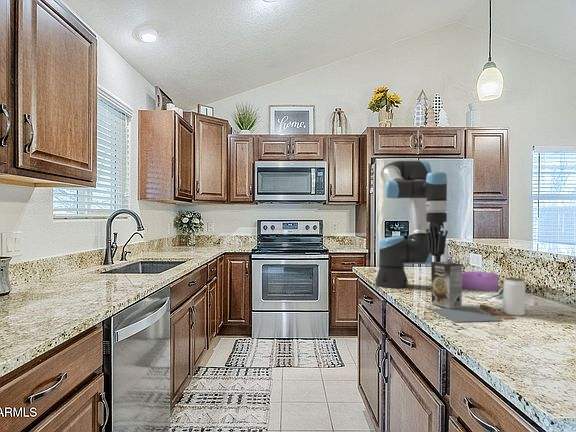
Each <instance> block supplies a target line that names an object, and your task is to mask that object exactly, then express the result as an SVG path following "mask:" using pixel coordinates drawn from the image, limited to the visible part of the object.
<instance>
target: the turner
mask: <svg viewBox="0 0 576 432" xmlns="http://www.w3.org/2000/svg"><path fill="white" fill-rule="evenodd" d="M479 308H480V309H481V310H483V311H486V312H488V314H490V315H492V316H493V315H494V317H497V318H498V317H499V319H502V320H515V319H516V318H515V316H513V315H508V314H505V313H504V312H503V311H500V310H497V308H494V307H492V306H489V305H486V304H479Z"/></svg>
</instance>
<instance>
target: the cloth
mask: <svg viewBox="0 0 576 432" xmlns="http://www.w3.org/2000/svg"><path fill="white" fill-rule="evenodd" d="M503 289H504V286H502V287H501V288H500V289H498V292H497V293H495V292H493V293H492V292H486V293H483V294H480V295H479V297H478V298H481V297H482V298H483V299H487V302H490V303H495V304H499V305H503ZM482 298H481V299H482ZM525 306H530V307H535V306H536V300H534V299H531V298H526V297H525Z"/></svg>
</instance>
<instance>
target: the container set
mask: <svg viewBox="0 0 576 432" xmlns="http://www.w3.org/2000/svg"><path fill="white" fill-rule="evenodd" d="M446 262H450V263H455V262H453V258H447V261H446ZM462 288H464V289H468V290H474V291H483V292H486V291H487V292H488V291H489V292H491V291H497V290H498V291H499V274H497V273H493V272H487V271H471V270H469V271H462Z"/></svg>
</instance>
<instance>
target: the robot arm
mask: <svg viewBox="0 0 576 432" xmlns="http://www.w3.org/2000/svg"><path fill="white" fill-rule="evenodd" d="M380 177H381V180H382V182H384V183H385V185H384V187H385V188H384V194H385V197H386V198H387V199H393V200H394V199H408V209H409V211H408V212H409V224H410V226H409V227H410V233H409V234H408V236H407V238H405V236H403V235H399V236H398V235H397V236H387V237H383V238H381V239H379V242H378V244H379V245H378V250H379V252H378V262H379V264H378V271H377V273H376V274H377V275H376V277H375V283H374V284H375V286H377V287H382V288H387V289H388V288H389V289H390V288H391V289H398V288H399V289H402V288H408V287H409V281H408V278H407V274H406V272H405V264H408V265H409V264H410V265H415V264H416V265H431V262H442V260H441V259H442V258H441V257H442V256H443V255H445V250H446V249H445V248H446V241H447V236H448V232H449V231H448V230H447V229H445V225H444V223H446V222H448V213H447V211H448V200H447V199H448V176H447V173H446V172H443V171H442V172H441V171H438V172H437V171H436V172H432V167H431V165H430V163H429V162H428V161H427V160H421V159H418V160H395V161H391V162H389V163H388V164H386V165H384V166H383V168H382V169H381V173H380Z"/></svg>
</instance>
